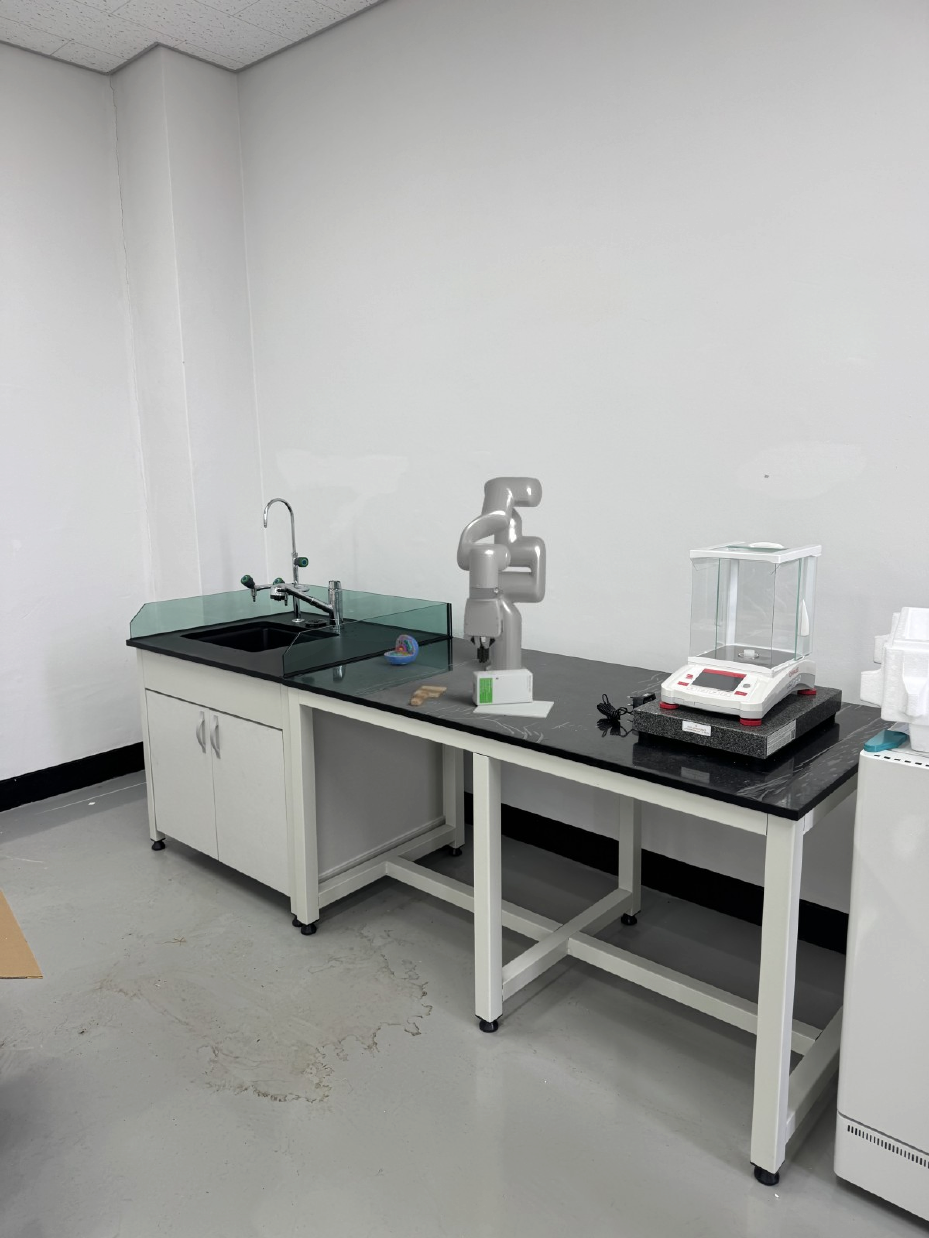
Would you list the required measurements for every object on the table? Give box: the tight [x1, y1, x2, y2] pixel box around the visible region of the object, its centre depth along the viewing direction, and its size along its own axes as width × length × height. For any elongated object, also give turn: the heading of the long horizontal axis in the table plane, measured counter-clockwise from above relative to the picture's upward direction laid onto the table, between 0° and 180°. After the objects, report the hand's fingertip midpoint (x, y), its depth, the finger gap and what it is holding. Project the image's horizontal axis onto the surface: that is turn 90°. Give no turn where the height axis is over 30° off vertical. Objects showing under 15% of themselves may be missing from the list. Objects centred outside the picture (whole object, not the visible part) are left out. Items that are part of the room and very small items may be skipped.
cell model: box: [383, 634, 420, 665], centre depth 282 cm, size 10×12×10 cm
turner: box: [410, 685, 448, 706], centre depth 243 cm, size 20×7×1 cm, turn 166°
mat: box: [472, 699, 555, 719], centre depth 231 cm, size 15×19×1 cm
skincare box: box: [471, 668, 534, 706], centre depth 236 cm, size 8×7×16 cm
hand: (483, 661), depth 231 cm, fingers closed
